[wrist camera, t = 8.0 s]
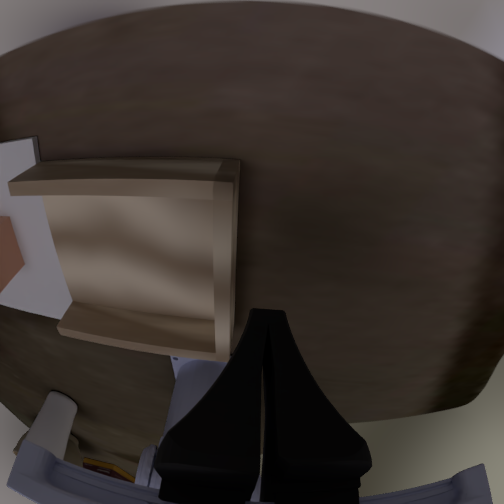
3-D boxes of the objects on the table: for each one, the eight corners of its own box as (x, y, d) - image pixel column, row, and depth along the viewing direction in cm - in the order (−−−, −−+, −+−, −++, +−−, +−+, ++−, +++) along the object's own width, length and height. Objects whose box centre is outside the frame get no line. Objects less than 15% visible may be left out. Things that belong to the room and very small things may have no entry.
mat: (83, 319, 27) (81, 323, 27) (-5, 298, 28) (-8, 302, 27) (36, 136, 18) (32, 138, 17) (-53, 154, 18) (-57, 156, 17)
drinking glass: (39, 382, 37) (5, 459, 25) (73, 393, 37) (41, 477, 25) (56, 404, 41) (28, 475, 28) (88, 414, 41) (62, 491, 28)
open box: (234, 325, 26) (229, 362, 23) (78, 304, 26) (60, 334, 23) (240, 159, 19) (233, 182, 15) (40, 161, 19) (7, 182, 15)
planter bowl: (106, 450, 51) (94, 492, 42) (70, 447, 56) (58, 482, 47) (47, 410, 44) (28, 456, 35) (19, 411, 49) (3, 448, 40)
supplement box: (114, 464, 58) (100, 516, 45) (142, 482, 66) (133, 528, 53) (83, 456, 60) (69, 504, 46) (113, 476, 68) (103, 519, 55)
